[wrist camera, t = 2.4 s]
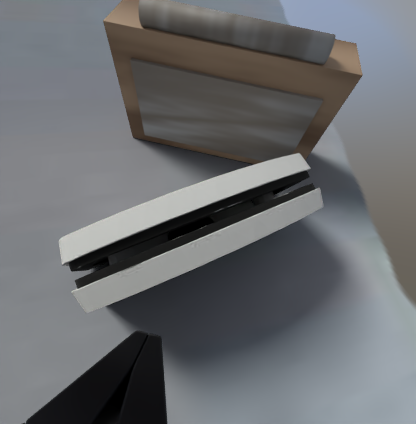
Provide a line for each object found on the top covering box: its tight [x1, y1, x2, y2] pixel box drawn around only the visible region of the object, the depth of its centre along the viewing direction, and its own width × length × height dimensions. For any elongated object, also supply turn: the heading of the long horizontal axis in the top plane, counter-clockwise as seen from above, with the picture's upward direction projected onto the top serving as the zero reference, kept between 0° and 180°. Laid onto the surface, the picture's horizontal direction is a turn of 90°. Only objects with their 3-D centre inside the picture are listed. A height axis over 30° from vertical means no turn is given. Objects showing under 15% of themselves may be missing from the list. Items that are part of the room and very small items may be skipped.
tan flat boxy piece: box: [103, 0, 362, 164], centre depth 20 cm, size 4×17×11 cm, turn 78°
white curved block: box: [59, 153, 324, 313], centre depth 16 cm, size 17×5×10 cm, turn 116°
